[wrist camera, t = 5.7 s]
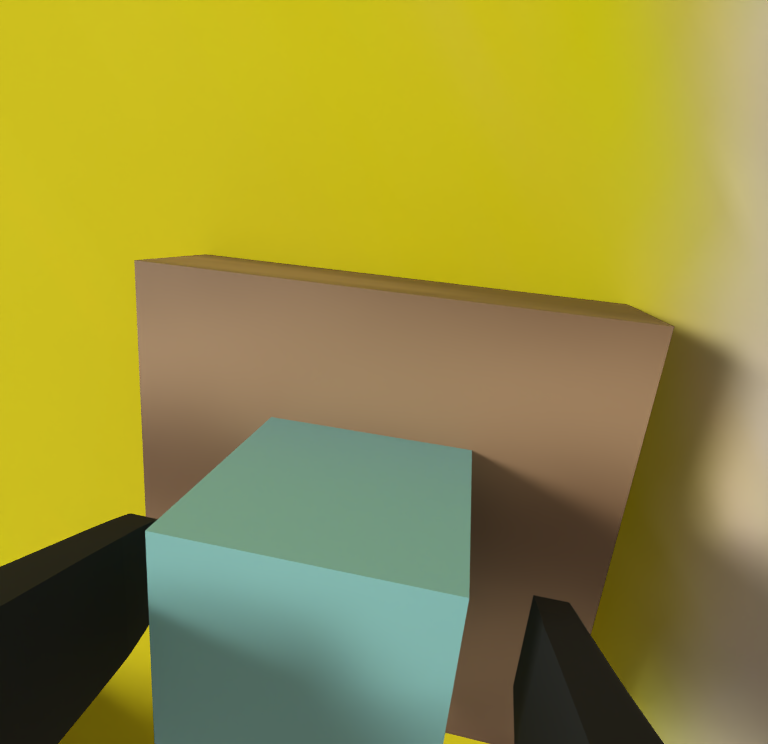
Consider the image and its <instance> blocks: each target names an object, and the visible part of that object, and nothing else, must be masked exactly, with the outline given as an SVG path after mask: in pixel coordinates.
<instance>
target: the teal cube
mask: <svg viewBox="0 0 768 744" xmlns="http://www.w3.org/2000/svg"><path fill="white" fill-rule="evenodd" d="M471 475H472V450H467V449H461V448H455V447H449V446H443V445H437V444H431V443H425V442H419V441H413V440H407V439H401V438H395V437H389V436H383V435H377V434H371V433H365V432H359V431H353V430H347V429H341V428H335V427H329V426H323V425H317V424H311V423H305V422H298V421H292V420H286V419H280V418H274V417H271V418H270V419H268V420H267V421H266V422H265V423H264V424H263V425H262V426H261V427H260V428H259V429H257V430H256V431H255V432H254V433H253V434H252V435H251V436H250V437H249V438H247V439H246V440H245V441H244V442H243V443H242V444H241V445H240V446H239V447H237V448H236V449H235V450H234V451H233V452H232V453H231V454H230V455H229V456H227V457H226V458H225V459H224V460H223V461H222V462H221V463H220V464H219V465H217V466H216V467H215V468H214V469H213V470H212V471H211V472H210V473H209V474H207V475H206V476H205V477H204V478H203V479H202V480H201V481H200V482H199V483H198V484H196V485H195V486H194V487H193V488H192V489H191V490H190V491H189V492H188V493H186V494H185V495H184V496H183V497H182V498H181V499H180V500H179V501H178V502H176V503H175V504H174V505H173V506H172V507H171V508H170V509H169V510H168V511H166V512H165V513H164V514H163V515H162V516H161V517H160V518H159V519H158V520H156V521H155V522H154V523H153V524H152V525H151V526H150V527H149V528H148V529H146V530H145V539H146V562H147V584H148V607H149V630H150V652H151V675H152V697H153V720H154V743H155V744H443V741H444V735H445V730H446V724H447V719H448V713H449V708H450V702H451V697H452V691H453V686H454V680H455V675H456V669H457V663H458V658H459V652H460V647H461V641H462V636H463V630H464V625H465V619H466V614H467V608H468V603H469V588H470V532H471Z"/></svg>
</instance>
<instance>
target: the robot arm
mask: <svg viewBox="0 0 768 744" xmlns="http://www.w3.org/2000/svg"><path fill="white" fill-rule="evenodd" d="M156 520H158V519H155V518H150V517H145V516H140V515H135V514H127V515H124V516H121V517H118V518H116V519H113V520H110V521H108V522H105V523H103V524H100V525H98V526H95V527H93V528H91V529H88V530H86V531H83V532H81V533H79V534H76V535H74V536H72V537H69V538H67V539H65V540H62V541H60V542H58V543H55V544H53V545H51V546H48V547H46V548H44V549H41V550H39V551H36V552H34V553H32V554H29V555H27V556H25V557H22V558H20V559H18V560H15V561H13V562H11V563H8V564H6V565H3V566H1V567H0V744H58V743H59V742H60V741H61V739H62V738H63V737H64V736H65V734H66V733H67V732H68V731H69V729H70V728H71V727H72V726H73V725H74V723H75V722H76V721H77V720H78V718H79V717H80V716H81V715H82V714H83V712H84V711H85V710H86V709H87V707H88V706H89V705H90V704H91V703H92V701H93V700H94V699H95V698H96V696H97V695H98V694H99V693H100V691H101V690H102V689H103V688H104V686H105V685H106V684H107V683H108V681H109V680H110V679H111V678H112V676H113V675H114V674H115V673H116V671H117V670H118V669H119V668H120V666H121V665H122V664H123V663H124V661H125V660H126V659H127V657H128V656H129V655H130V653H131V652H132V650H133V649H134V647H135V646H136V644H137V643H138V641H139V640H140V638H141V637H142V635H143V634H144V632H145V630H146V629H147V627H148V625H149V607H148V584H147V562H146V539H145V530H146V529H148V528H149V527H150V526H151V525H152V524H153V523H154V522H155V521H156ZM513 710H514V744H664V743H663V742H662V740H661V739H660V737H659V736H658V735H657V733H656V732H655V730H654V729H653V728H652V726H651V725H650V723H649V722H648V720H647V719H646V718H645V716H644V715H643V713H642V712H641V710H640V709H639V707H638V706H637V705H636V703H635V702H634V700H633V699H632V697H631V696H630V695H629V693H628V692H627V690H626V689H625V687H624V686H623V684H622V683H621V681H620V680H619V678H618V677H617V675H616V674H615V672H614V671H613V669H612V668H611V666H610V665H609V663H608V661H607V660H606V658H605V657H604V655H603V654H602V652H601V651H600V649H599V648H598V646H597V644H596V643H595V641H594V640H593V638H592V637H591V635H590V633H589V632H588V630H587V629H586V627H585V625H584V624H583V622H582V621H581V619H580V618H579V616H578V614H577V613H576V611H575V610H574V608H573V607H572V606H571V604H570V603H569V602H565V601H560V600H555V599H550V598H545V597H540V596H535V595H533V599H532V603H531V608H530V612H529V617H528V621H527V626H526V630H525V635H524V639H523V644H522V648H521V653H520V657H519V662H518V666H517V670H516V675H515V679H514V684H513Z"/></svg>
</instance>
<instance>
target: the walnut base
mask: <svg viewBox="0 0 768 744" xmlns="http://www.w3.org/2000/svg"><path fill="white" fill-rule="evenodd" d="M135 281H136V304H137V326H138V349H139V371H140V394H141V416H142V439H143V461H144V484H145V506H146V517H150V518H155V519H159V518H160V517H161V516H162V515H163V514H164V513H165V512H166V511H168V510H169V509H170V508H171V507H172V506H173V505H174V504H175V503H176V502H178V501H179V500H180V499H181V498H182V497H183V496H184V495H185V494H186V493H188V492H189V491H190V490H191V489H192V488H193V487H194V486H195V485H196V484H198V483H199V482H200V481H201V480H202V479H203V478H204V477H205V476H206V475H207V474H209V473H210V472H211V471H212V470H213V469H214V468H215V467H216V466H217V465H219V464H220V463H221V462H222V461H223V460H224V459H225V458H226V457H227V456H229V455H230V454H231V453H232V452H233V451H234V450H235V449H236V448H237V447H239V446H240V445H241V444H242V443H243V442H244V441H245V440H246V439H247V438H249V437H250V436H251V435H252V434H253V433H254V432H255V431H256V430H257V429H259V428H260V427H261V426H262V425H263V424H264V423H265V422H266V421H267V420H268V419H270V418H271V417H274V418H280V419H286V420H292V421H298V422H305V423H311V424H317V425H323V426H329V427H335V428H341V429H347V430H353V431H359V432H365V433H371V434H377V435H383V436H389V437H395V438H401V439H407V440H413V441H419V442H425V443H431V444H437V445H443V446H449V447H455V448H461V449H467V450H472V475H471V532H470V588H469V603H468V608H467V614H466V619H465V625H464V630H463V636H462V641H461V647H460V652H459V658H458V663H457V669H456V675H455V680H454V686H453V691H452V697H451V702H450V708H449V713H448V719H447V724H446V730H445V733H449V734H453V735H458V736H462V737H466V738H470V739H474V740H478V741H482V742H486V743H490V744H514V710H513V684H514V679H515V675H516V670H517V666H518V662H519V657H520V653H521V648H522V644H523V639H524V635H525V630H526V626H527V621H528V617H529V612H530V608H531V603H532V599H533V595H535V596H540V597H545V598H550V599H555V600H560V601H565V602H569V603H570V604H571V606H572V607H573V608H574V610H575V611H576V613H577V614H578V616H579V618H580V619H581V621H582V622H583V624H584V625H585V627H586V629H587V630H588V632H589V633H590V635H591V631H592V628H593V624H594V620H595V617H596V613H597V609H598V606H599V602H600V598H601V594H602V591H603V587H604V583H605V580H606V576H607V572H608V569H609V565H610V561H611V558H612V554H613V550H614V547H615V543H616V539H617V536H618V532H619V528H620V524H621V521H622V517H623V513H624V510H625V506H626V502H627V499H628V495H629V491H630V488H631V484H632V480H633V477H634V473H635V469H636V465H637V462H638V458H639V454H640V451H641V447H642V443H643V440H644V436H645V432H646V429H647V425H648V421H649V418H650V414H651V410H652V406H653V403H654V399H655V395H656V392H657V388H658V384H659V381H660V377H661V373H662V370H663V366H664V362H665V359H666V355H667V351H668V348H669V344H670V340H671V336H672V333H673V329H674V326H672V325H669V324H667V323H665V322H663V321H661V320H659V319H657V318H655V317H653V316H651V315H648V314H646V313H644V312H642V311H640V310H638V309H636V308H634V307H632V306H629V305H627V304H619V303H611V302H602V301H594V300H585V299H577V298H568V297H560V296H552V295H543V294H535V293H526V292H518V291H509V290H501V289H492V288H484V287H476V286H467V285H459V284H450V283H442V282H433V281H425V280H417V279H408V278H400V277H391V276H383V275H374V274H366V273H358V272H349V271H341V270H332V269H324V268H315V267H307V266H299V265H290V264H282V263H273V262H265V261H256V260H248V259H239V258H231V257H223V256H214V255H194V256H182V257H169V258H157V259H145V260H135Z"/></svg>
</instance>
